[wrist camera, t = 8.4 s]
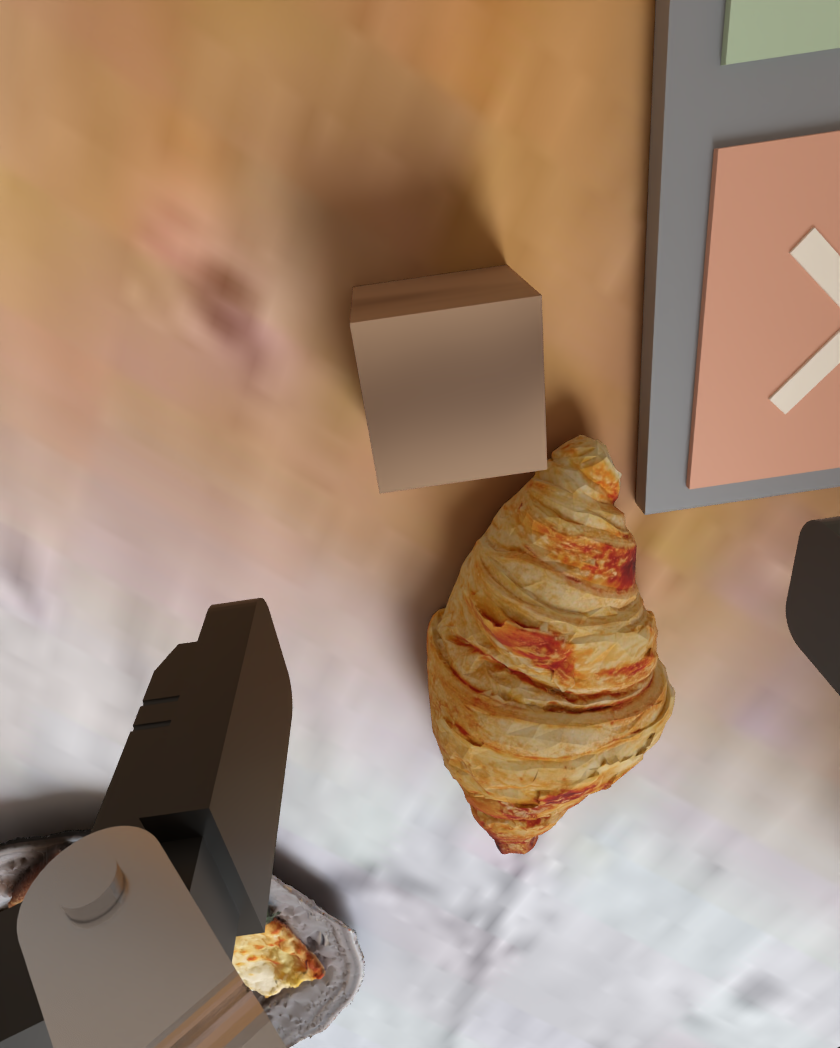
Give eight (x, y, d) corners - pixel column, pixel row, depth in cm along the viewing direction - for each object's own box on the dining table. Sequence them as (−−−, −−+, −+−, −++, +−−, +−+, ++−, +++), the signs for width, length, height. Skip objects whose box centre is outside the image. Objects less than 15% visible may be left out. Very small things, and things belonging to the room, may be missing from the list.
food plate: (-190, 930, 36) (-239, 1004, 33) (118, 729, 30) (93, 796, 27) (162, 1067, 48) (149, 1131, 45) (429, 939, 42) (435, 1001, 39)
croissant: (481, 389, 27) (396, 455, 21) (748, 434, 24) (745, 530, 17) (449, 759, 37) (385, 881, 31) (633, 828, 34) (604, 981, 27)
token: (514, 410, 24) (547, 469, 20) (377, 430, 24) (379, 493, 20) (506, 264, 22) (541, 295, 17) (352, 286, 22) (349, 323, 17)
